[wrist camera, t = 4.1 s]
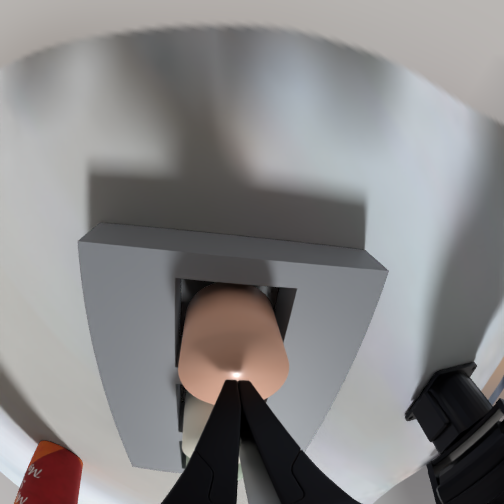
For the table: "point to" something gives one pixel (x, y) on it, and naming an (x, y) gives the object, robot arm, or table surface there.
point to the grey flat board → (169, 340)
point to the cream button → (194, 422)
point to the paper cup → (51, 476)
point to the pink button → (231, 342)
